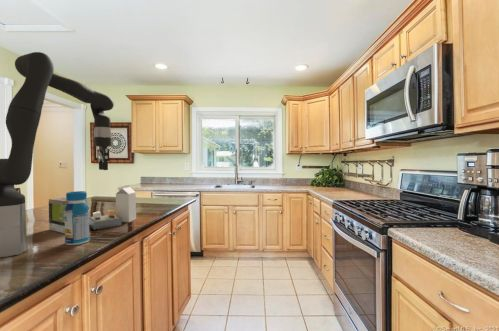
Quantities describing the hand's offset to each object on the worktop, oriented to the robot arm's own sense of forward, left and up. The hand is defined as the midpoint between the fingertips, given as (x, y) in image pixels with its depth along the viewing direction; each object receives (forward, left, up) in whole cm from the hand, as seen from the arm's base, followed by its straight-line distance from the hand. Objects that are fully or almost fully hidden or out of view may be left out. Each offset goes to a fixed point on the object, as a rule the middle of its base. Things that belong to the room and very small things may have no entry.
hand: (103, 169), depth 132 cm
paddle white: (0, +3, -22) cm, 23 cm away
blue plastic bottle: (-24, +15, -28) cm, 40 cm away
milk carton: (+2, -11, -28) cm, 30 cm away
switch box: (0, 0, -28) cm, 28 cm away
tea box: (+3, +15, -28) cm, 32 cm away
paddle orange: (0, -3, -22) cm, 23 cm away
